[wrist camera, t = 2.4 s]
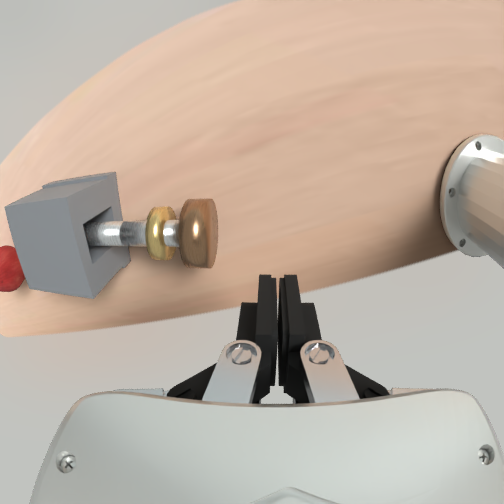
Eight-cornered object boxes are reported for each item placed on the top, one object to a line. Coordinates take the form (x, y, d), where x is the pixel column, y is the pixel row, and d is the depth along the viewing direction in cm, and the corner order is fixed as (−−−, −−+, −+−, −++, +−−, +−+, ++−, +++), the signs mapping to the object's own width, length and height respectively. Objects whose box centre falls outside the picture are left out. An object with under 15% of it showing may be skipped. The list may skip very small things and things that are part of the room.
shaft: (215, 191, 21) (199, 210, 17) (219, 249, 23) (206, 281, 19) (86, 199, 22) (52, 217, 18) (96, 247, 24) (68, 272, 20)
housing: (115, 171, 22) (66, 193, 16) (130, 260, 26) (94, 301, 20) (51, 182, 23) (3, 203, 16) (68, 258, 27) (30, 291, 20)
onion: (35, 282, 29) (1, 314, 22) (11, 259, 28) (-24, 287, 21) (39, 251, 27) (-2, 284, 20) (13, 228, 26) (-27, 255, 19)
